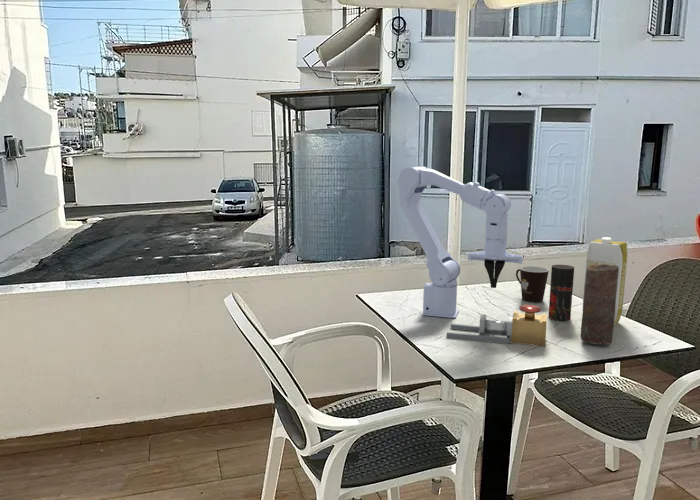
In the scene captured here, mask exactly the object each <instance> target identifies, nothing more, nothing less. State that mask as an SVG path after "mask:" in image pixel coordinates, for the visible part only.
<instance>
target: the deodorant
mask: <svg viewBox="0 0 700 500" xmlns="http://www.w3.org/2000/svg"><path fill="white" fill-rule="evenodd" d="M550 273H551V274H550V288H549V289H550V290H549V302H548V304H549V305H548V316H547V317H548V319H549V320H551V321H555V322H570V321H571V316H572V306H573V305H572V304H573V303H572V302H573V291H574V279H575V266H573V265H569V264H552V265H551V271H550Z"/></svg>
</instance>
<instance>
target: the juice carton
mask: <svg viewBox="0 0 700 500" xmlns="http://www.w3.org/2000/svg"><path fill="white" fill-rule="evenodd" d="M590 264H598V265H601V264H607V265H617V266H618V267H619V272H618V282H617V293H616V304H615V315H614V326H615V325H616V324H618V323H619V322H620V320H621V317H622V314H623V309H624V298H625V288H626V287H625V286H626V277H627V267H628V243H627V241H613V240H612V237H609V236H608V237H607V236H604V237H601V239H600V238H596V239H594V240H591V241H590V242H589V244H588V248H587V252H586V262H585V273H584V274H585V275H584V282H583V283H584V284H583V285H584V287H583V294H584V293H585V282H586V272H587V267H588V266H589V265H590ZM583 304H584V295H583V299H582V305H583Z"/></svg>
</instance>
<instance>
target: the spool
mask: <svg viewBox="0 0 700 500" xmlns="http://www.w3.org/2000/svg"><path fill="white" fill-rule="evenodd" d="M512 320H513V316H508V318H507V321H503V320H492V319H491V320H490V319H487V314H484V313H483V314H480V318H479V325H478V326H479V331H478V335H492V336H503V337H505V336H506V338H509V343H511V338H512Z"/></svg>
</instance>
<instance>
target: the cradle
mask: <svg viewBox="0 0 700 500" xmlns="http://www.w3.org/2000/svg"><path fill="white" fill-rule="evenodd" d="M479 326H480V325H473V324H461V323H453V322H451V323H450V330H453V329H454V330H460V331H461V330H462V331H470V332H479ZM446 338H451V339H460V340H470V341H478V342H486V343H487V342H488V343H489V342H490V343H499V344H505V345H509V344H510V342H509V338H507V337H505V336H503V337H502V336H496V335H487V334H485V335H479V334H475V333H466V332H465V333H464V332H455V331H446Z"/></svg>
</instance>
